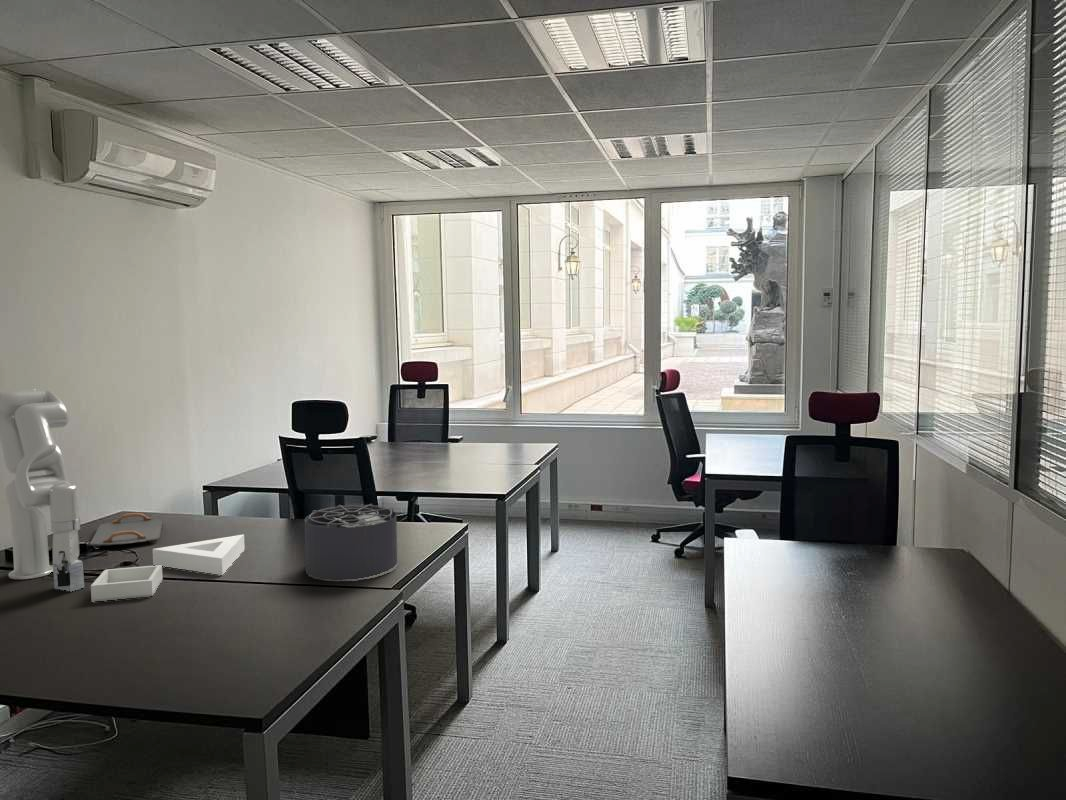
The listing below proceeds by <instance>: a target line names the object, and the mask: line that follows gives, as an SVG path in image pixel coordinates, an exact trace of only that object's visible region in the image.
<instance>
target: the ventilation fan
mask: <svg viewBox="0 0 1066 800" xmlns="http://www.w3.org/2000/svg"><path fill="white" fill-rule="evenodd" d="M397 522H398V521H397V512H395V511H394V508H393V507H386V506H380V505H374V504H373V503H370V504H350V505H341V504H338V505H337V506H331V507H326V508H323V509H319V510H312V511H311V513H310V514H308V515H307V516H306V517H305V518H304V543H305V544H304V545H305V571H307V573H308V574H310V575H312V576H314V577H317V578H321V579H331V580H343V579H345V580H346V579H358V578H364V577H369V576H373V575H377V574H380V573H382V572H385V571H388V570H389V569H391V568H393V567H394V566H395V565H396V564H397V562H398V538H397V537H398V534H397V532H398V531H397V530H398V529H397V526H398V525H397Z"/></svg>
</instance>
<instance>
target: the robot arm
mask: <svg viewBox="0 0 1066 800" xmlns="http://www.w3.org/2000/svg"><path fill="white" fill-rule="evenodd" d="M69 421H70V415H69V410H68V409H67V406H66V405H65V403H64V402H63V401H62V400H61V399H60V398H59V397H58V396H57V395H56V394H55V393H53V391H52V390H50V389H48V388H42V387H40V388H39V387H37V388H22V389H21V388H19V389H5V390H0V447H1V451H2V456H3V460H4V465H5V467H6V470H7V471H8V472H9V473H10V474H13V475H14V480H11V481H10V482H8V484H7V485H6V487H5V491H4V492H5V497H6V502H7V506H8V509H9V516H10V528H11V540H12V541H11V542H12V554H13V555H12V556H13V557H12V558H13V570H11V571H10V572H8V578H9V579H12V580H29V579H36V578H41V577H44V576H45V577H46V576H48V575H51V574H52V573H51V572H53V565H57V579H58V586H59V587H61V586H69V585H70V572H68V571H69V564H71V563H72V562H74V561H75V560H79V558H78V557H79V556H80V540H79V532H78V531H79V530H81V519H80V517H81V516H80V502H79V501H80V500H79V488H78V486H77V485H76V484H73V483H70V482H69V478H68V475H67V474H68V473H67V468H66V464H65V460H64V459H65V458H64V455H63V452H62V450H61V448H60V446H59V445H58V444H57V443H56V441H55V438H54V435H53V431H52V429H58V428H64V427H66V426H67V425H68V423H69ZM40 472H41V473H42V472H44V473H45V474H41V475H32V476H29V474H33V473H40ZM44 508H49V514H50V518H49V519H50V531H51V533H52V535H53V536H52V564H50V556H49V543H48V542H49V541H48V524H47V518H46V516H45V514H44V513H43V512H42V511H41V510H40V509H44ZM63 562H65V563H63ZM64 566H66V568H65V567H64ZM50 573H51V574H50Z"/></svg>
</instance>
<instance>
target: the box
mask: <svg viewBox="0 0 1066 800" xmlns="http://www.w3.org/2000/svg"><path fill="white" fill-rule="evenodd" d="M163 579H164V578H163V567H162V565H155V566H153V565H145V566H132V567H120V568H118V567H117V568H108V569H107V568H106V569H104V570H103V571H102V572H101V574H100V575H99V576H98V577H97V578H96V579H95V580H94V581H93V582H92V584H91V585H90V595H91V603H92V602H93V603H96V602H95V601H104V602H108V601H107V600H115V601H118V600H117V599H126V598H136V597H148V598H150V597H149V596H153V595H154V596H155V594H156V593H157V591H156V590H158V589H159V587H160V586H161V584H162V583H163V581H162V580H163ZM160 583H161V584H160ZM159 585H160V586H159ZM158 586H159V587H158ZM157 588H158V589H157ZM154 593H155V594H154ZM154 596H153V597H154ZM126 600H127V599H126Z"/></svg>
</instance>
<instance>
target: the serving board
mask: <svg viewBox="0 0 1066 800" xmlns="http://www.w3.org/2000/svg"><path fill="white" fill-rule="evenodd" d="M129 517H141V518H136V519H126V518H129ZM124 518H125V519H126V520H122V519H124ZM163 526H164V519H163V518H152V517H148V516H146V515H145V514H143V513H141V512H140V513H139V512H131V513H126V514H122V515H120V516H119V517H117V519H115V520H112V522H111V521H110V522H105V523H102V524H100V525H99V526H98V528H97V530H96V531H95V532H94V534H93V536H92V537H93V538H92V539H91V540H90V543H89V546H93V549H94V548H100V549H101V546H115V545H116V546H117V545H128V544H133V543H134V544H136V543H143V542H149V545H156V540H159V539H160V537H161V535H162V534H161V533H162V529H163Z"/></svg>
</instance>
